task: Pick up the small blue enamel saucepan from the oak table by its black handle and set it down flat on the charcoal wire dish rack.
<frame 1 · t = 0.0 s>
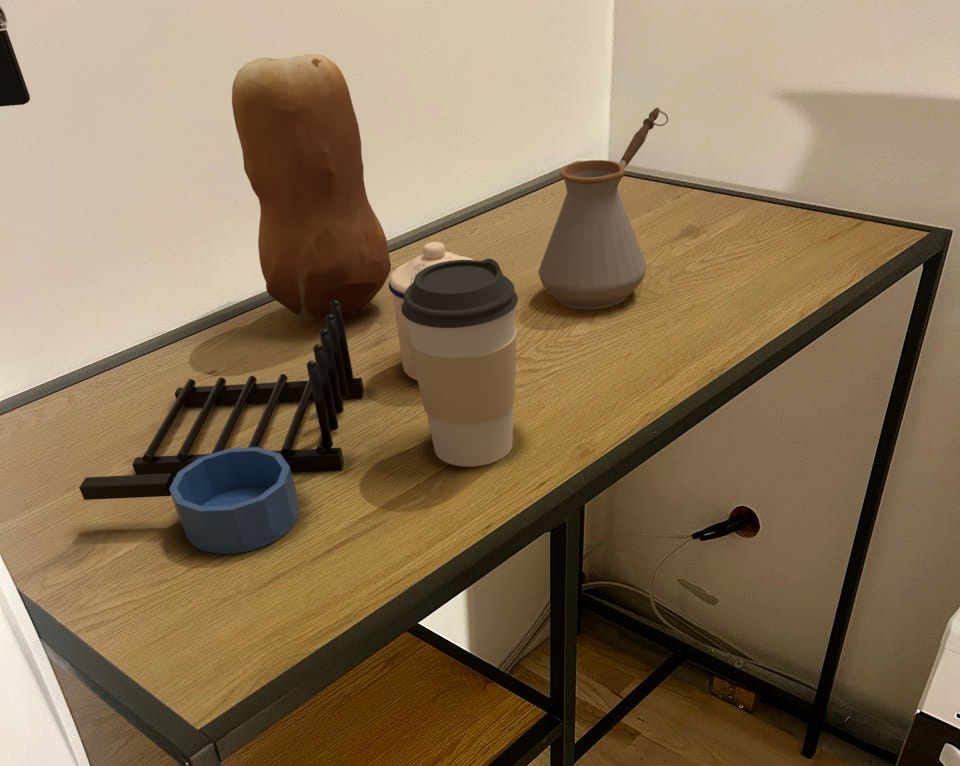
coffee pot: (613, 281, 107), on the table
teacup with lid: (461, 365, 94), on the table
saucepan: (242, 520, 76), on the table
dish rack: (256, 433, 87), on the table
coffee cup: (473, 447, 82), on the table
butternut squash: (334, 315, 106), on the table
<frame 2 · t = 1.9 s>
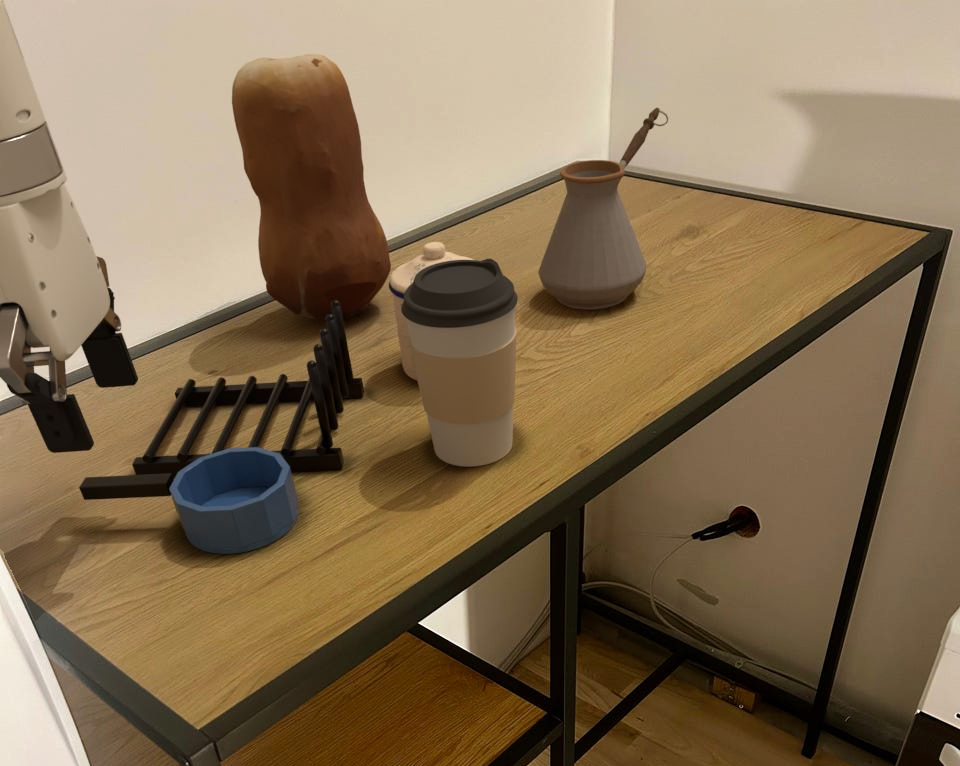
hand: (96, 415, 70), 10 cm above the table, tool pointing down, fingers open, 9 cm apart
nothing on the table moved.
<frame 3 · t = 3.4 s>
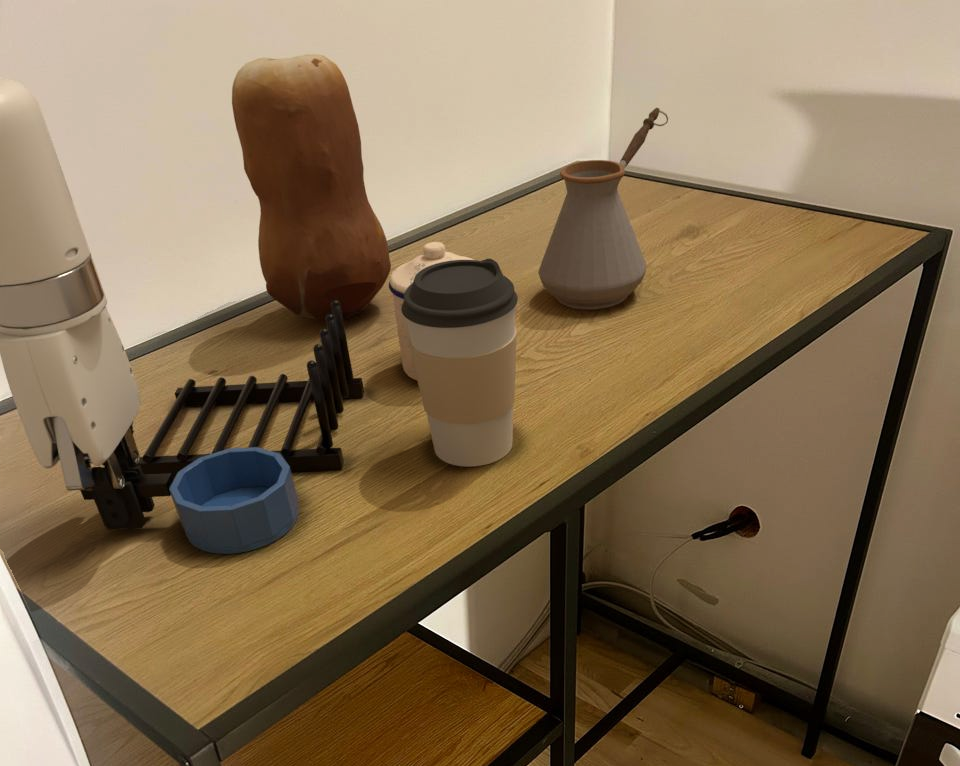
hand: (130, 517, 76), 1 cm above the table, tool pointing down, fingers closed on saucepan
saucepan: (242, 520, 76), on the table, touching gripper
everything else where it was.
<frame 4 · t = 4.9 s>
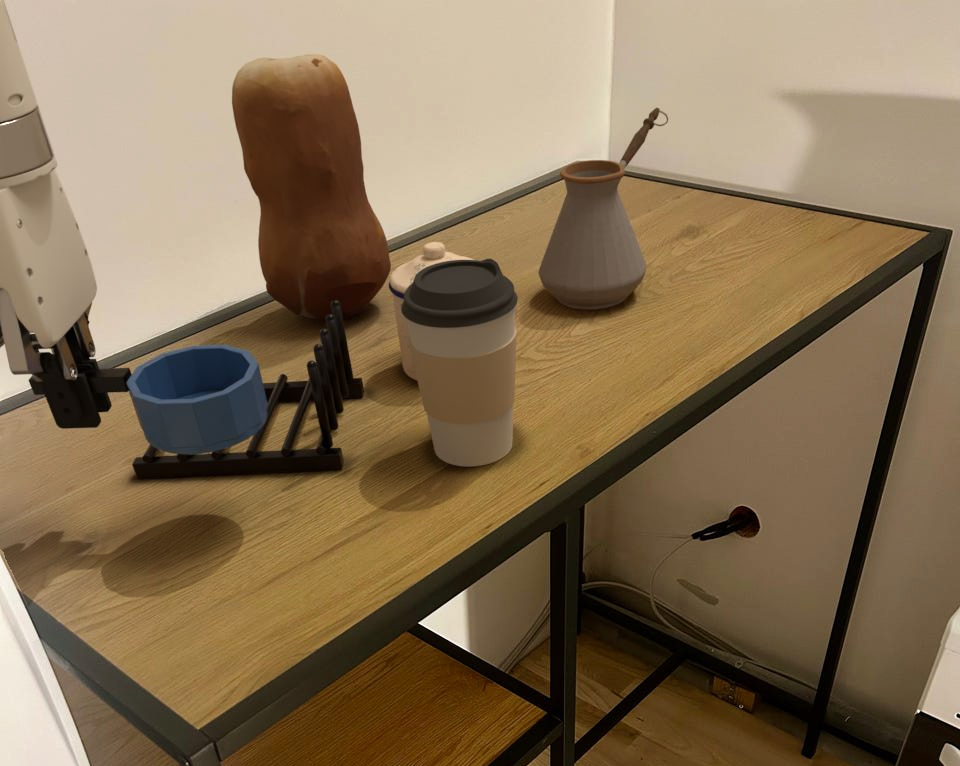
hand: (85, 417, 71), 10 cm above the table, tool pointing down, fingers closed on saucepan
saucepan: (206, 422, 70), point 9 cm above the table, touching gripper
everything else where it was.
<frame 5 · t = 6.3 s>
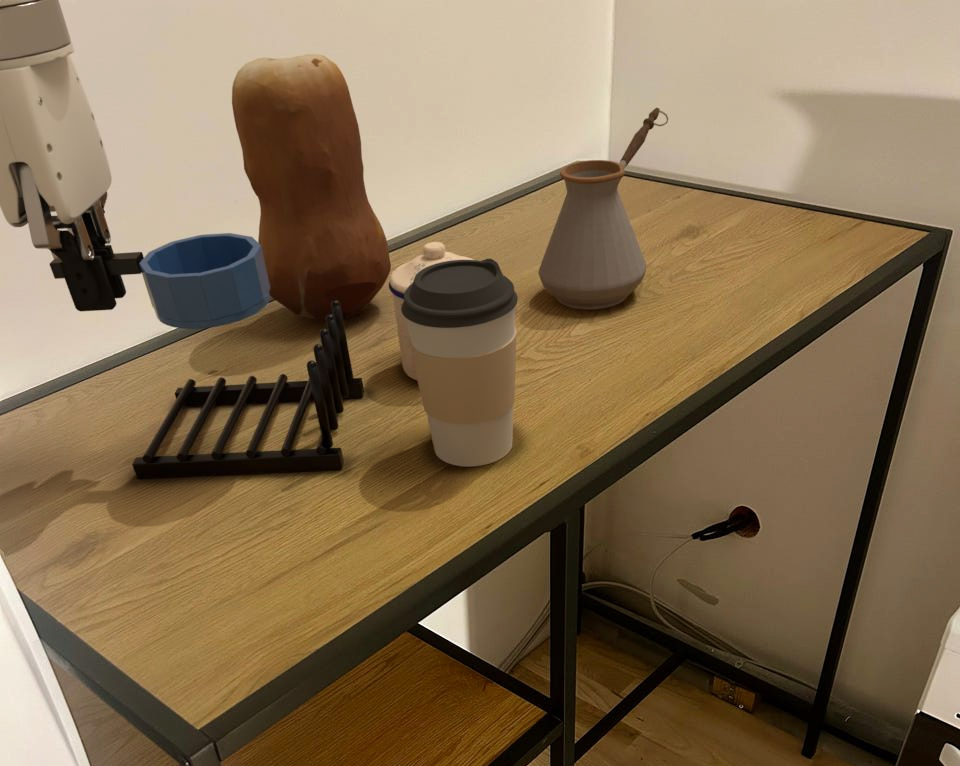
hand: (101, 301, 76), 14 cm above the table, tool pointing down, fingers closed on saucepan
saucepan: (213, 305, 76), point 13 cm above the table, touching gripper
everything else where it was.
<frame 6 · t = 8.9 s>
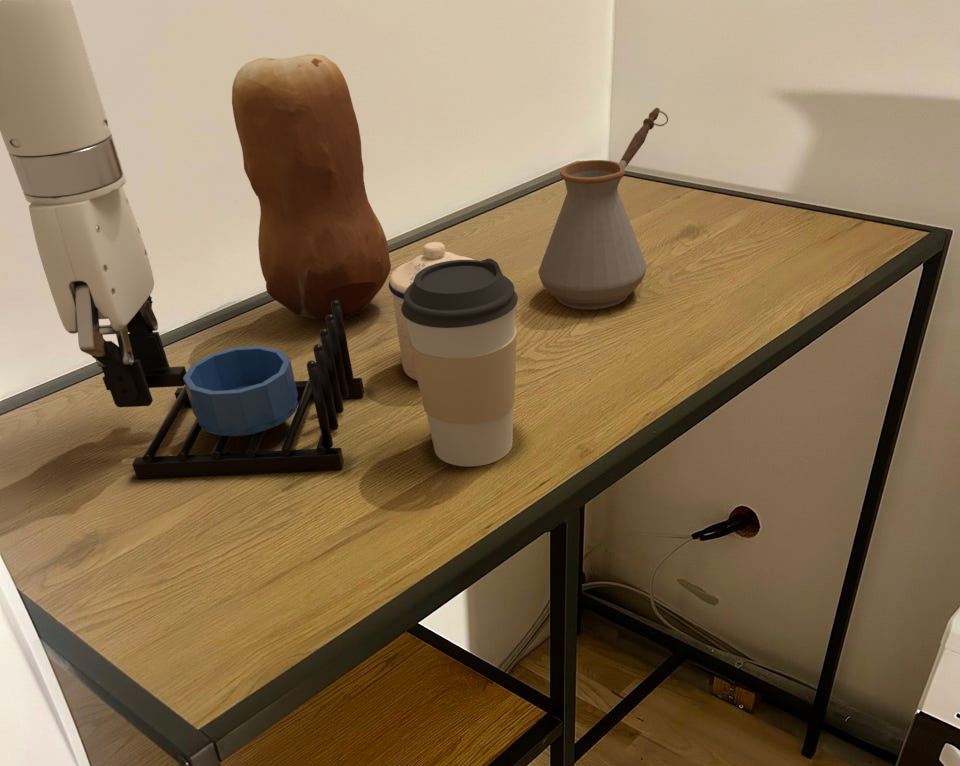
hand: (144, 388, 84), 5 cm above the table, tool pointing down, fingers open, 4 cm apart
saucepan: (247, 410, 85), point 2 cm above the table, touching dish rack
everything else where it was.
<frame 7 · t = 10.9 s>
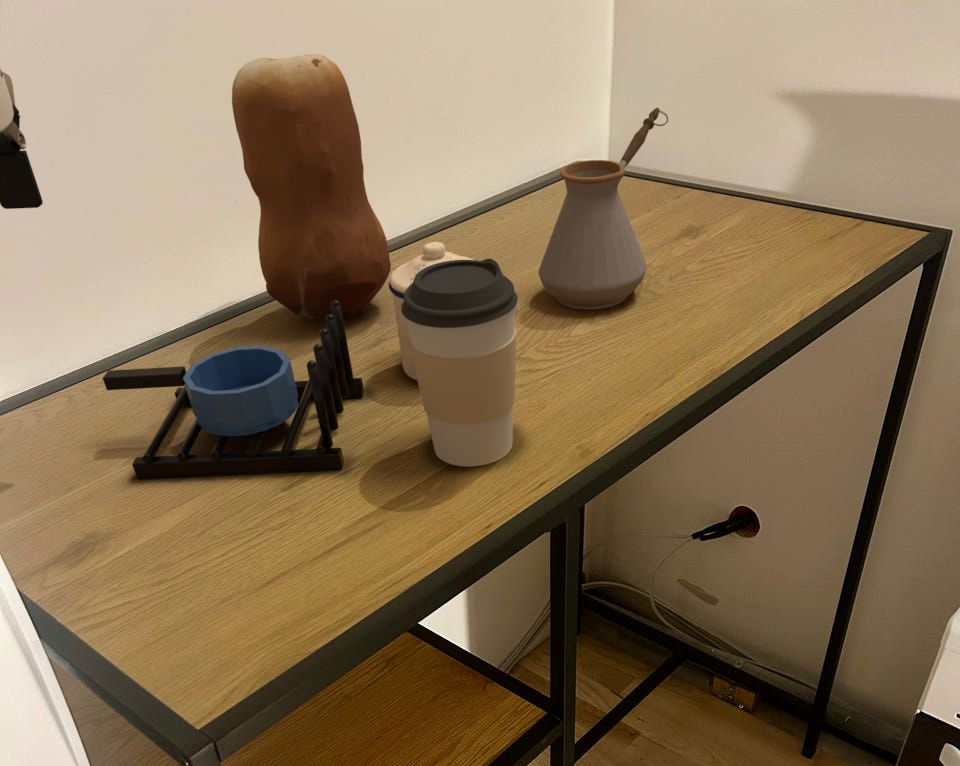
nothing on the table moved.
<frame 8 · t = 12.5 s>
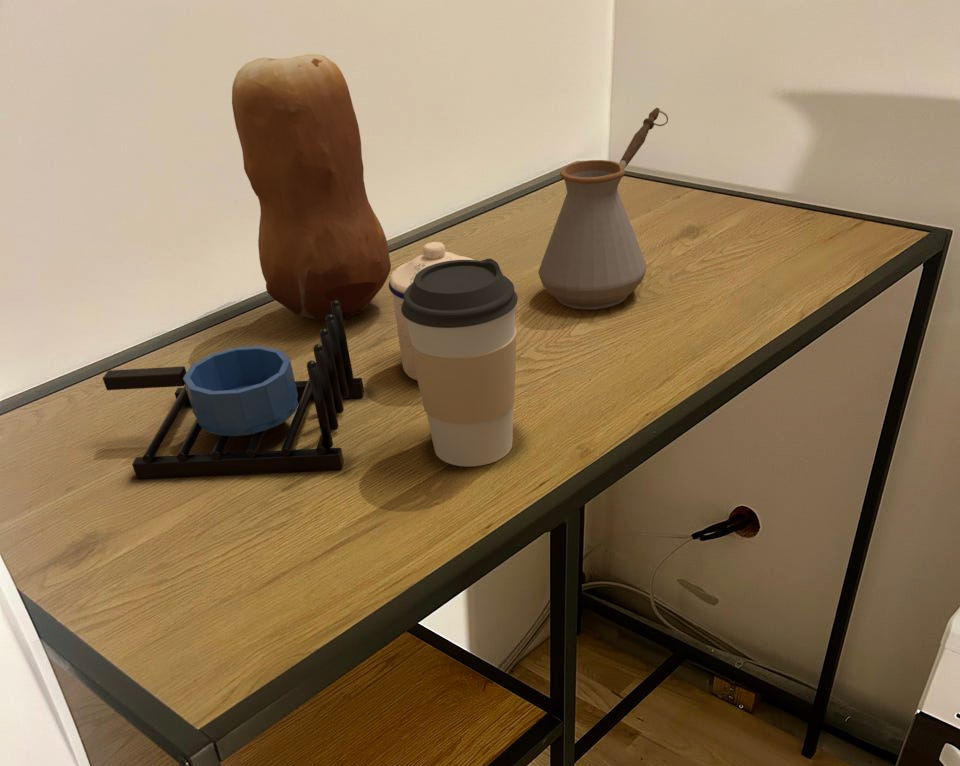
nothing on the table moved.
at the end: saucepan inside the target area on the dish rack (0.2 cm from its centre), point 2.3 cm above the dish rack's base; saucepan tilted 0°; the gripper is holding nothing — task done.
